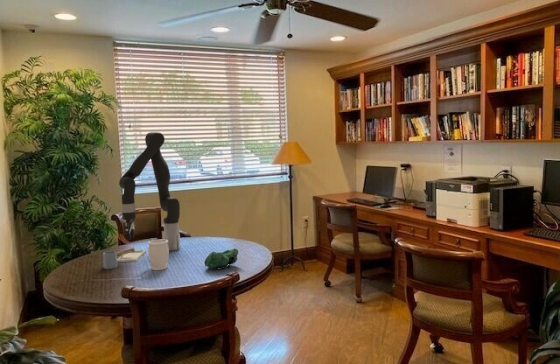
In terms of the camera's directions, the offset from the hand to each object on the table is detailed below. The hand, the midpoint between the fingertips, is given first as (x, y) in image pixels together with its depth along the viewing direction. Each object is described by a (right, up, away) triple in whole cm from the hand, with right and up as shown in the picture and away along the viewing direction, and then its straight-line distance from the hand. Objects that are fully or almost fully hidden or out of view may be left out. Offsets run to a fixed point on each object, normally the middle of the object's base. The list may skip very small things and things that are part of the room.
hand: (130, 238), depth 254 cm
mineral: (+57, -13, -22) cm, 63 cm away
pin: (+2, -9, +1) cm, 9 cm away
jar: (+23, -14, -21) cm, 34 cm away
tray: (0, -12, +1) cm, 12 cm away
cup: (-4, -14, -19) cm, 24 cm away
